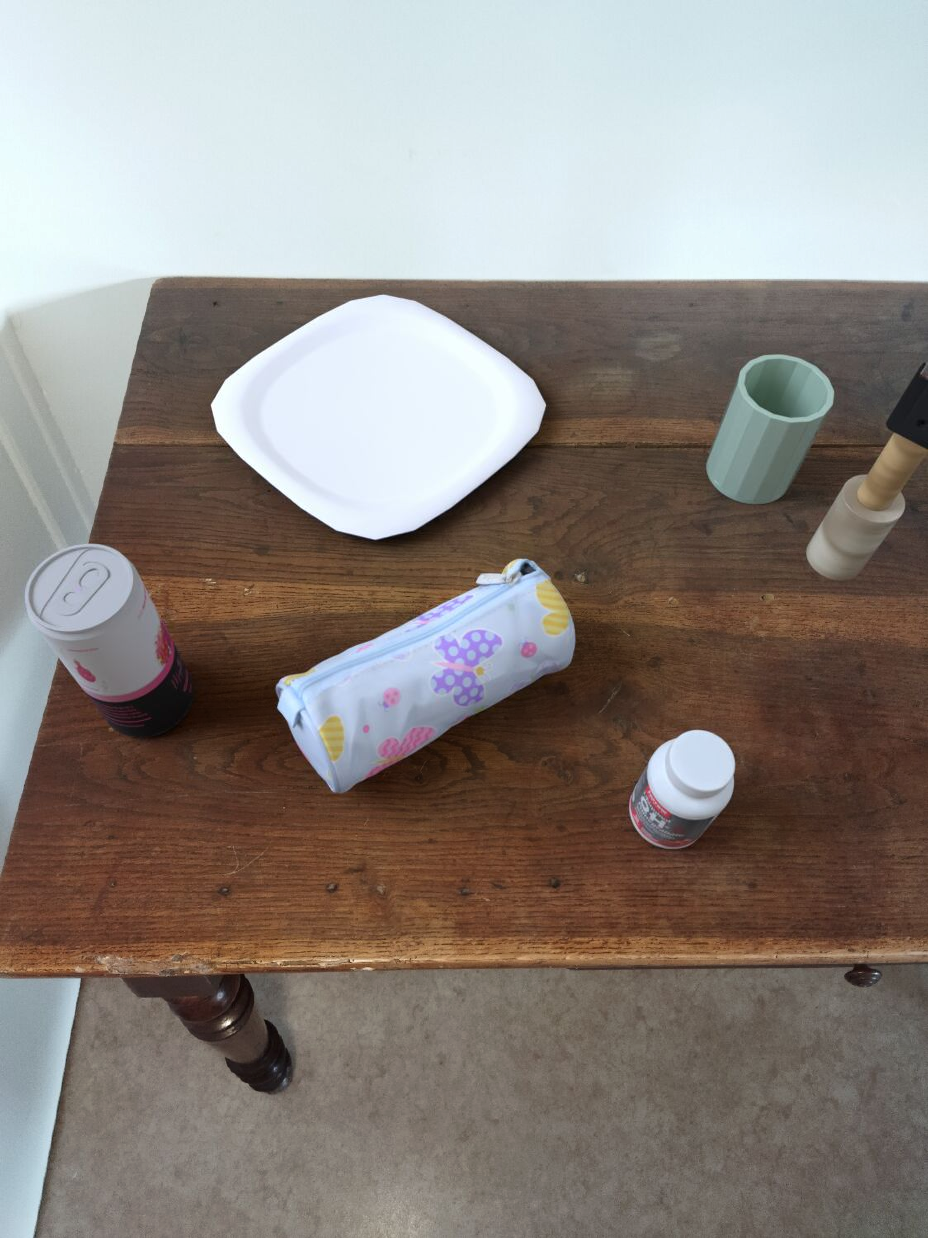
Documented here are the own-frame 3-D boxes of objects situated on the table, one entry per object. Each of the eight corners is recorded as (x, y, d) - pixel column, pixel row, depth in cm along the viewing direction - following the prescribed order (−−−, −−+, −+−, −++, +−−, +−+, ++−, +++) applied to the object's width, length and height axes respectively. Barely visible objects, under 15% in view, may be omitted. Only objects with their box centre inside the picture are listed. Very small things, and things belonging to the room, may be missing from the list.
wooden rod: (872, 554, 57) (1034, 331, 41) (847, 590, 55) (1005, 372, 40) (821, 525, 58) (961, 297, 43) (796, 560, 56) (930, 336, 41)
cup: (805, 467, 78) (850, 383, 70) (764, 518, 75) (806, 436, 67) (732, 427, 81) (767, 341, 72) (690, 475, 77) (721, 390, 69)
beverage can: (213, 682, 66) (159, 567, 53) (158, 755, 63) (86, 651, 50) (142, 646, 67) (72, 525, 54) (85, 715, 64) (-3, 605, 51)
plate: (576, 416, 81) (579, 402, 79) (375, 580, 71) (374, 568, 69) (384, 286, 89) (383, 272, 88) (181, 416, 79) (176, 402, 78)
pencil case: (513, 596, 70) (523, 523, 62) (579, 678, 67) (599, 612, 59) (276, 725, 64) (253, 662, 56) (334, 824, 60) (318, 771, 52)
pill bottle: (617, 831, 61) (645, 779, 52) (641, 764, 63) (673, 704, 55) (693, 864, 59) (734, 816, 51) (714, 795, 62) (758, 738, 54)
